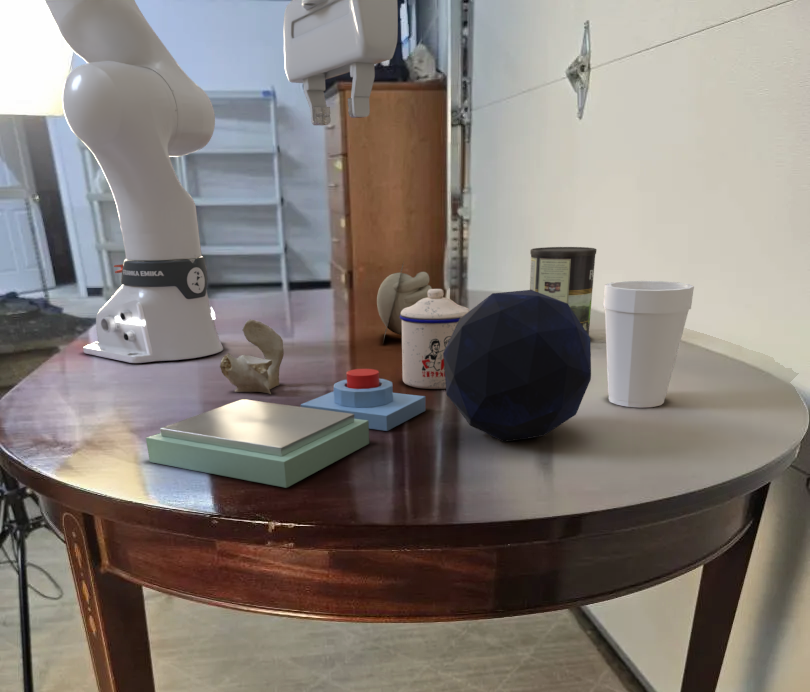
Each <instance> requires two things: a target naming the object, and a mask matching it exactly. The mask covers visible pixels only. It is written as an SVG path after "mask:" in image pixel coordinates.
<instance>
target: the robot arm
mask: <svg viewBox="0 0 810 692" xmlns="http://www.w3.org/2000/svg"><path fill="white" fill-rule="evenodd" d="M43 2H44V4H45V6H46V8H47V10H48V12H49V14H50V16H51V18H52V20H53V22H54V24H55V26H56V28H57V30H58V32H59V34H60V36H61V37H62V39H63V40H64V42H65V43H66V44H67V46H68V47H69V49H71V51H73V52H74V53H75V54H76V55H77V56H78V57H80V58H81V59H82V60H84V61H85V62H86V63H84V64H80V65H78V66H76V67H74V68H73V69H72V70H71V71H70V72H69V73H68V75H67V76H66V79H64V82H63V87H62V92H61V93H62V94H61V103H62V109H63V110H62V111H63V114H64V117H65V120H66V123H67V125H68V127H69V128H70V130H71V131H72V133H73V134H74V135H75V136H76V138H78V140H80V141H81V142H82V143H83V144H84V145H85V146H86V148H88V150H89V151H90V152H91V153H92V155H93V156H94V158H95V160H96V161H97V164H98V165H99V167H100V169H101V170H102V173H103V175H104V177H105V179H106V182H107V183H108V186H109V188H110V190H111V193H112V197H113V199H114V202H115V205H116V210H117V214H118V219H119V226H120V230H121V235H122V236H121V237H122V242H123V247H124V254H125V255H124V256H125V259H124V260H123V263H122V264H114V265H113V268H120V269H117V270H114V273H115V274H121V277H120V284H121V286H120V287H119V288H118V289H117V290H116V291H115V293H114V294H113V295H112V296H111V298H109V300H107V302H106V303H105V304H104V305H103V306H102V307H101V308H100V309H99V310H98V312H97V313H96V317H95V329H96V337H97V341H94V342H92V343H89V344H87V345H85V346H83V353H84V354H87V355H91V356H95V357H96V356H97V357H102V358H105V359H109V360H110V359H111V360H116V361H120V362H124V363H129V364H142V363H151V362H153V363H154V362H165V361H179V360H189V359H191V360H192V359H196V358H197V359H198V358H202V357H207V356H211V355H216V354H218V353H220V352H222V351H223V350H224V346H223V345H222V341H221V339H220V336H219V333H218V330H217V327H216V324H215V320H216V313H215V311H214V309H213V307H212V305H211V302H210V298H209V295H208V290H207V287H208V273H207V265H206V259H205V257H204V256H203V255H202V248H201V238H200V231H199V223H198V214H197V207H196V206H197V205H196V203H195V201H194V198H193V197H192V195H191V194H190V193H189V192H188V191H187V190H186V189H185V187H184V186H183V185H182V183H181V182H180V180H179V177H178V176H177V173H176V171H175V169H174V165H173V163H172V160H171V158H172V157H173V158H179V157H185V156H187V155H190V154H193V153H196V152H198V151H200V150H203V149H204V148H205V147H206V146H207V145H208V144H209V142H210V141H211V140H212V137H213V135H214V132H215V127H216V114H215V110H214V106H213V104H212V101H211V99H210V97H209V96H208V94H207V93H206V91H205V90H204V89H203V88H201V86H199V85H198V84H197V83H196V82H195V81H193V79H192V78H191V77H189V76H188V74H187V73H186V71H184V70H183V68H182V67H181V66H180V65H179V63H178V62H177V61H176V59H175V58H174V57H173V55H172V53H171V52H170V51H169V49H168V48H167V47H166V45H165V44H164V43H163V41H162V40H161V39H160V37H159V36H158V34H157V33H156V32H155V30H154V29H153V28H152V26H151V24H150V23H149V21H148V20H147V19H146V18H145V15H143V12H142V11H141V10H140V8H139V6H138V4H137V2H136V0H43ZM283 14H284V15H283V57H284V58H283V59H284V61H283V62H284V71H285V74H286V77H287V80H288V82H289V83H292V84H293V83H296V84H302V87H303V93H304V97H305V98H306V101H307V104H308V107H309V110H310V122H311V124H312V125H313V126H319V127H320V126H321V127H323V126H327V125H329V124H330V123H331V107H330V106H328V104H327V101H326V97H325V91H326V80H328V79H332V78H335V77H339V76H341V75H342V76H343V75H344V74H349V76H350V78H352V83H351V92H350V97H348V98H347V107H348V110H347V111H348V112H347V113H348V114H347V115H348V116H349V117H350V118H351V119H352V118H353V119H361V118H367V117H369V116H370V112H371V107H370V106H371V105H370V97H371V94H372V90H373V87H374V81H375V79H376V78H375V77H376V72H375V71H376V70H375V65H377V64H380V63H383V62H387V61H390V60H392V59H393V57H394V55H395V52H396V49H397V44H398V32H399V31H398V30H399V29H398V27H399V23H398V17H399V15H398V0H290V1H289V3H287V5H286V7H285V9H284V13H283Z"/></svg>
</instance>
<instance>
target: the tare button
mask: <svg viewBox="0 0 810 692" xmlns="http://www.w3.org/2000/svg"><path fill="white" fill-rule="evenodd" d="M379 379H380V371H379V370H378V369H374V368H355V369H350V370H348V371H346V380H347V387H348V388H353V389H369V388H376V387H379Z"/></svg>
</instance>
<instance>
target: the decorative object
mask: <svg viewBox="0 0 810 692" xmlns="http://www.w3.org/2000/svg"><path fill="white" fill-rule="evenodd" d="M404 262H405V260H403V262H402V266H401V269H400V272H396V273H392V274H389V275H387V277H385V278H384V280H383V281H382V282H381V283H380V285H379V288H378V291H377V296H376V305H377V307H376V308H377V312H378V316H379V317H380V320H381V322H382V323H383V324H384V326H385V332H384V337H383V342H382V343H384V341H385V338H386V334H387V329H388V330H389V331H390V332H392V333H394V334H396V335H400V336H401V337H402V319H400V315H401V311H402V310H403V309H404V308H407V307H410V306H412V305H414V304H416V303H417V302H418V301H419V300H421V299H424V298H428V290H430V289H433V288H432V286H431V285H430V284H429V283H430V276H429V273H428V272H426V271H420V272H418V273H416V275H414V277H412V276H411V275H409V274H407V273H403V272H402V271H403V268H404Z"/></svg>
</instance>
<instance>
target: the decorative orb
mask: <svg viewBox="0 0 810 692" xmlns="http://www.w3.org/2000/svg"><path fill="white" fill-rule="evenodd" d="M469 310H470V311H469V312H468V313H466V314H465V315H464V316H463V317H461V318H460V319H459V321H458V323H457V325H456V327H455V329H454V331H453V334H452V336H451V338H450V340H449V342H448V344H447V346H446V348H445V350H444V353H443V358H444V370H445V382H446V389H445V391H446V395H447V397H448V398H449V400H450V401H451V402H452V403H453V405H454V406H455V407H456V409H457V411H458V412H459V413H460V414H461V416H462V417H463V418H464V420H465V421H466V422H467V424H468V425H469V426H470V427H472V428H474V429H476V430H479V431H481V432H483V433H484V434H487V435H489V436H491V437H493V438H495V439H497V440H500V441H501V442H504V443H505V442H511V441H517V440H525V439H531V438H537V437H538V438H539V437H544V436H545V435H547V434H549V433H550V432H551V431H553V430H554V429H556V428H558V427H559V426H561V425H563V424H564V423H565V422H567V421H568V420H570V419H572V418H573V417H575V416H577V413H578V411H579V408H580V407H581V404H582V401H583V400H584V396H585V395H586V392H587V389H588V387H589V385H590V382H591V380H592V379H591V378H592V356H591V355H592V351H591V349H592V347H591V345H592V343H591V336H590V334H589V335H588V334H587V332H586V331H585V329H584V327H583V326H582V324H581V323H580V321H579V320H578V318H577V317H576V315H575V314H574V312H573V311H572V309H571V308H570V306H569V305H568V303H565V302H562V301H560V300H557V299H554V298H552V297H549V296H546V295H544V294H541V293H538V292H536V291H533V290H530V289H526V290H525V289H524V290H514V291H504V292H493V293H491V294H490V295H489V296H487V297H486V298H484V299H483V300H482V301H481V302H479V303H478V304H477V305H475V306H474V307H473V308H471V309H469Z"/></svg>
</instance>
